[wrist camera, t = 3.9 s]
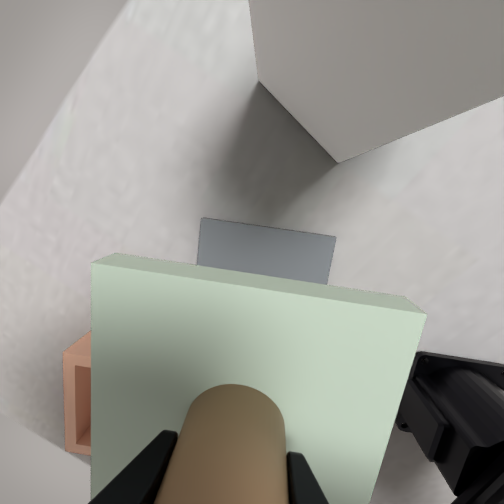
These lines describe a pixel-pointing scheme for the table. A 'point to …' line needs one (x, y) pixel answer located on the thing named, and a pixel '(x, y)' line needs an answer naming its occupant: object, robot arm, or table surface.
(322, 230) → the table surface
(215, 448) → the lid
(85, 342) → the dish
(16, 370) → the table surface
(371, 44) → the milk carton
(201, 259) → the mat
